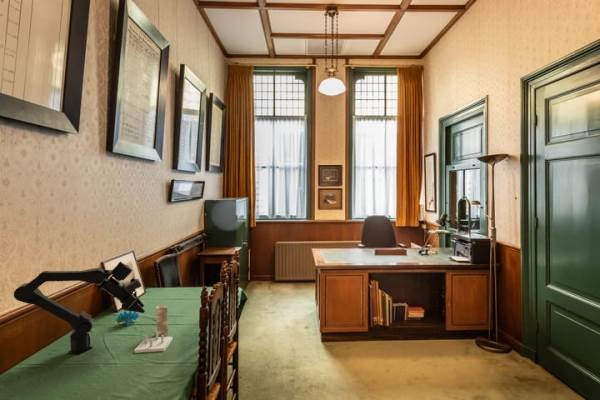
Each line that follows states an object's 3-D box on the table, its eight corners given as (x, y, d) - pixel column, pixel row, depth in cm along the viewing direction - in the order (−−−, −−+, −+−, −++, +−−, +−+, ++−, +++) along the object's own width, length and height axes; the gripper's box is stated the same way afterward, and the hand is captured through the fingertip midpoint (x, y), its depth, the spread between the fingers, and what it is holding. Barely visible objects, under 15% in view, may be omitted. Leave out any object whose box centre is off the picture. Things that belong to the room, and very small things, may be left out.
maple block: (157, 337, 156) (156, 309, 156) (157, 333, 160) (156, 306, 160) (168, 335, 158) (167, 307, 158) (167, 332, 162) (166, 304, 162)
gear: (141, 316, 180) (135, 308, 173) (141, 327, 176) (134, 318, 169) (119, 321, 178) (112, 313, 171) (118, 332, 174) (110, 324, 167)
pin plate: (134, 352, 141) (134, 342, 141) (145, 340, 153) (144, 331, 153) (164, 350, 142) (163, 340, 142) (172, 339, 154) (172, 329, 154)
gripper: (129, 278, 145) (158, 300, 150) (129, 270, 162) (155, 290, 167) (108, 299, 141) (139, 321, 146) (111, 289, 158) (138, 309, 163)
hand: (143, 309), depth 156 cm, fingers open, 9 cm apart
